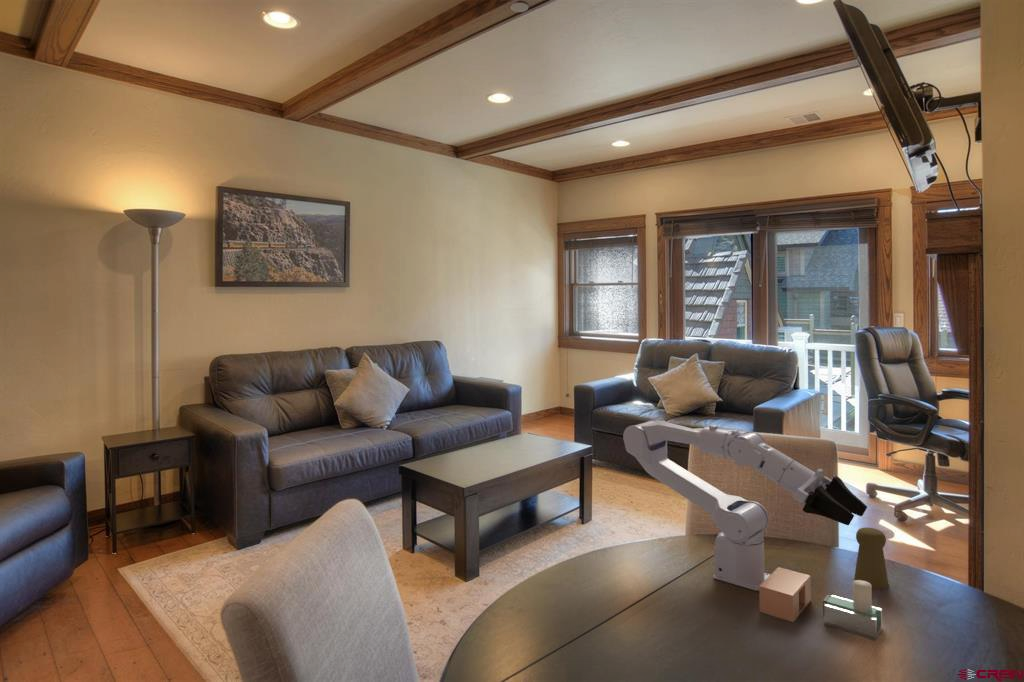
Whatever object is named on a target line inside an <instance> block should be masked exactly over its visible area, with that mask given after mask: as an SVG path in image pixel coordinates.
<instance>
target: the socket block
mask: <svg viewBox="0 0 1024 682" xmlns="http://www.w3.org/2000/svg"><path fill="white" fill-rule="evenodd" d="M811 581H812V580H811V575H810V574H806V573H802V572H798V571H796V570H795V571H794V570H791V569H788V568H784V567H779V566H778V567H777V568H776V569H774V571H773V572H772V573H770V576H769V577H768V578H767V579H766V580H765V581H764V582H763V583H762V584H761V585H760V586H759V591H758V592H759V593H758V594H759V598H758V599H759V612H760V613H763V614H767V615H770V616H773V617H774V618H779V619H781V620H785V621H788V622H790V623H794V622H796V620H797V618H799V616H800V615H801V613H802V612H803V611H804V610H805V608H806V607H807V606H808V605H809V604H810V602H811V601H812V598H811V597H812V592H811V591H812V589H811V588H812V587H811V585H812V584H811V583H812V582H811Z"/></svg>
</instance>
